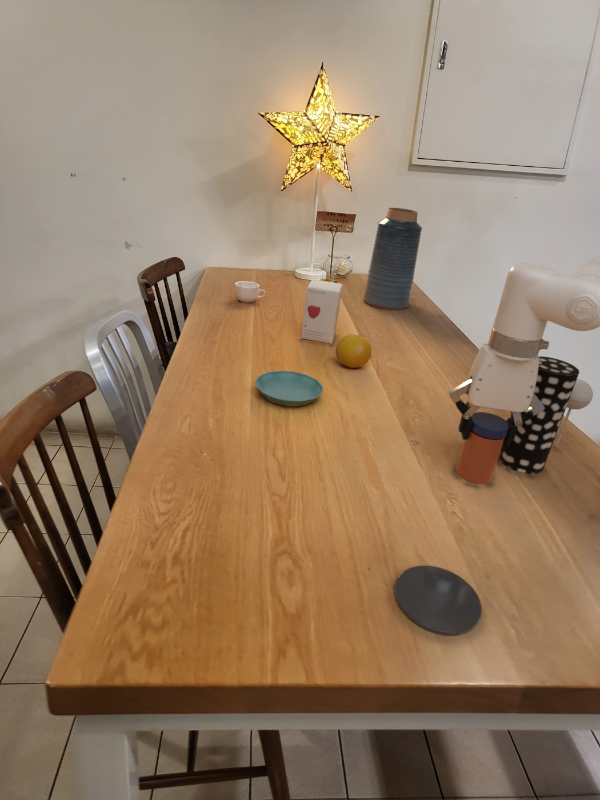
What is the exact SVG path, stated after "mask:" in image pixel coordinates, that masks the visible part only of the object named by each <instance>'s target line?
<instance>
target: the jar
mask: <svg viewBox="0 0 600 800" xmlns="http://www.w3.org/2000/svg"><path fill="white" fill-rule="evenodd" d="M505 438H506V437H504V438H501V439H491V438H486V437H483V436H480V435H478V434H476V433H475V432H473V431H472V430H471V429H470V433H469V436H468V439H466V440H463V443H462V446H461V450H460V453H459V456H458V461H457V463H456V467H455V471H456V473H457V475H458V476H459V477H460V478H461V479H463V480H465V481H467V482H470V483H471V484H472V483H473V484H478V485H486V484H489V483H491V481H492V480H493V478H494V475H495V471H496V468H497V465H498V462H499V460H500V459H499V456H500V453H501V450H502V447H503V444H504V441H505Z"/></svg>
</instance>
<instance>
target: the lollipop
mask: <svg viewBox="0 0 600 800" xmlns="http://www.w3.org/2000/svg"><path fill="white" fill-rule="evenodd" d="M593 397H594V392H593V388H592V387H591V385H590V384H589V383H588V382H586V381H585V380H583V379H579V378H577V380H576V383H575V385H574V388H573V391H572V393H571V396H570V399H569V401H568V404H567V407H566V409H567V412H566V415H565V418H564V420H563V423H562V426H561V428H560V430H559V434H558V437H557V439H556V442H555V444H554V448H558V446H559V443H560V441H561V438H562V435H563V433H564V431H565V427H566V424H567V422H568V419H569V417H570V414H571V412H572V410H581V409H585V408H586V407H587V406H588V405H590V403H591V402H592V400H593Z"/></svg>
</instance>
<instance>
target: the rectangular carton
mask: <svg viewBox="0 0 600 800" xmlns="http://www.w3.org/2000/svg"><path fill="white" fill-rule="evenodd" d="M309 282H310V283H309V284H308V285H307V288H306V296H305V302H304V303H305V304H304V311H303V319H302V320H303V321H302V329H301V335H300V338H301V339H302V340H308V341H312V342H313V341H314V342H319V343H320V342H321V343H325V344H333V342H334V339H335V336H336V332H337V326H338V319H339V313H340V305H341V299H342V294H343V293H342V292H343V287H344V284H343V283H339V282H332V281H328V280H320V279H313V278H312V279H311V281H309Z"/></svg>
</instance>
